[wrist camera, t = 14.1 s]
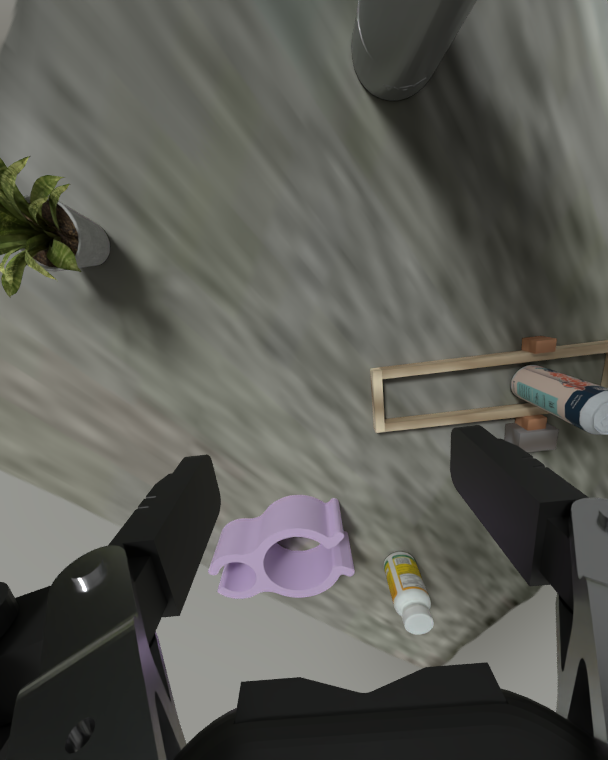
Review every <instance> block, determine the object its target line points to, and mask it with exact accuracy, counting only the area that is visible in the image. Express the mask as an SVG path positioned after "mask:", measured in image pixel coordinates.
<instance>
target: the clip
mask: <svg viewBox="0 0 608 760" xmlns="http://www.w3.org/2000/svg"><path fill="white" fill-rule="evenodd" d="M289 537H306V538H310V539H313V540H315V541H317V542H319V543H321V544H320V545H318V546H317V547H315V548H313V549H310V550H306V551H293V550H289V549H286V548H284V547H282V546H280V545H279V544H277V543H276V542H278V541H280V540H282V539H285V538H289ZM224 565H225V566H224ZM222 566H224V570H223V573H222V577H221V580H220V584H219V587H218V593H220V594H221V595H223V596H226V597H229V598H234V599H244V598H249V597H252V596H254V595H256V594H258V593H261V592H275V593H278V594H280V595H283V596H288V597H297V598H300V597H309V596H313V595H317V594H319V593H322V592H324V591H325V590H327V589H328V588H330V587H331V586H332V585H333V584H334V583H335V582H336V581H337V579H338V578H339V576H340V575H347V576H352V575H353V574H354V573H355V571H354V565H353V559H352V553H351V548H350V542H349V536H348V533H347V532H346V531H343V525H342V519H341V512H340V506H339V501H338V500H337V499H336V498H332V499H331V500H330V501H329V502H328V503H324V502H322V501H321V500H319V499H317V498H314V497H311V496H306V495H291V496H287V497H283V498H281V499H279V500H277V501H275V502H274V503H272V504H271V505H270V506H269V507H268V508H267V509H266V511H265V512H264V513H263V514H262V515H261V516H259V517H257V518H252V519H248V518H241V519H236V520H233V521H231V522H230V523H228V524H227V525H226V526H225V527H224V528H223V530H222V533H221V536H220V538H219V541H218V544H217V547H216V550H215V553H214V556H213V559H212V562H211V565H210V567H209V570H208V573H209V574H211V575H216V574H218V572H219V570H220V568H221V567H222Z"/></svg>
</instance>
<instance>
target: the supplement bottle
mask: <svg viewBox="0 0 608 760" xmlns="http://www.w3.org/2000/svg"><path fill="white" fill-rule="evenodd" d="M384 570H385V574H386V578H387V581H388V585H389V589H390V593H391V596H392V600H393V604H394V607H395V610H396V611H397V613H398V614H399V615H400V616H402V620H403V623H404V626H405V628H406V630H407V631H408V632H410V633H412V634H417V635H419V634H424V633H427V632H429V631H430V630H431V629H432V627H433V625H434V622H433V618H432V616H431V613H430V611H429V610H430V607H431V601H430V597H429V595H428V592H427V590H426V587H425V585H424V582H423V580H422V577H421V575H420V572H419V569H418V567H417V564H416V562H415V560H414V558H413V557H412V556H411V555H410V554H408V553H406V552H394V553H392V554H390V555H389V556H388V557H387V558H386V559H385V562H384Z"/></svg>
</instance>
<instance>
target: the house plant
mask: <svg viewBox="0 0 608 760" xmlns="http://www.w3.org/2000/svg"><path fill="white" fill-rule="evenodd" d="M29 157H31V156H29ZM29 157H25V158H23V159H21V160H19V161H17V162H15V163H13V164H12V165H10V166H9V167H8V168H7V167H6V165H5V164H4V162H3V161H2V159H1V158H0V255H2V254H5V253H7V254H6V255H5V256H4V258H3V261H2V263H1V264H0V271H1V272H2V273H3V275H2V278H1V280H2V285H3V288H4V290H5V291H6V293H7V295H8V296H9V297H10V296H11V295H13V294H15V293H16V292H17V291H18V289H19V287H20V284H21V280H22V276H23V272H24V268H25V266H26V265H28V266H30V267H31V268H33V269H35V270H37V271H38V272H40V273H41V274H43V275H45V276H46V277H49V278H52V279H55V278H54V277H53V276H52V275H51V274H49V273H48V272H47V271H61V270H74V271H79V270H80V269H79V268H81V267H89V266H96V265H100V264H102V263H103V262H104V261H105V260H106V259H107V258H108V256H109V252H110V242H109V239H108V236H107V234H106V233H105V231H104V230H103V229H102V228H101V227H100V226H99V225H98V224H97V223H95V222H93V221H92V220H90V219H88V218H87V217H85V216H83V215H82V214H80V213H78V212H76V211H75V210H73V209H71V208H70V207H68V206H66V205H64V204H63V203H61V202H59V201H58V200H59V197H60V195H61V193H63V192H64V191H65V190H66V189H67V188H68V186H69V184H66V185H63V186H59V187H57V188H55V186H56V184H57V182H58V181H59V180H60V179H61V178H65V177H59V176H51V175H46V176H42V177H40V178H38V179H37V180H36V181H35V183H34V185H33V187H32V191H31V195H26V196H24V197H23V195H22V194H21V193H20V191H19V190H18V188H17V186H16V184H15V180H16V176H17V174H18V173H19V172H20V171H21V170H22V169H23V168H24V166H25V164H26V162H27V160H28V158H29ZM54 188H55V189H54ZM49 194H50V195H49ZM48 195H49V196H48ZM16 251H19V252H20V253H19V254H17V255H16V256H14V257H13V258H12V259H11V260H10V261H9V263H8V264H7V266H6V269H4V264H5V262H6V261H7V259H8V257H9V256H10V254H12V253H14V252H16ZM79 272H81V270H80V271H79ZM55 280H56V279H55ZM10 298H11V297H10Z"/></svg>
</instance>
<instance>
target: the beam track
mask: <svg viewBox="0 0 608 760" xmlns="http://www.w3.org/2000/svg"><path fill="white" fill-rule="evenodd" d="M556 342H557V339H555V338H550V337H545V336H535V337H527V338H522V349H521V351H512V352H504V353H496V354H487V355H479V356H471V357H462V358H454V359H446V360H438V361H429V362H421V363H413V364H404V365H396V366H388V367H379V368H371V369H370V374H371V390H372V406H373V422H374V429H375V431H376V433H379V432H388V431H397V430H406V429H415V428H424V427H433V426H442V425H451V424H460V423H469V422H478V421H487V420H496V419H505V418H514V417H515V423H508V424H506V426H505V438H504V440H505V441H507V442H510V443H512V444H515V445H517V446H519V447H520V448H522V449H523V450H525V451H526V452H535V451H544V450H554V449H556V446H557V439H558V431H559V429H557V428H556V427H554V426H552V425H550V424H548V423H547V417H545V416H543V415H541V414H550V413H548V412H546V411H544V410H542V409H540V408H538V407H536V406H535V405H533V404H531V403H523V404H514V405H505V406H497V407H488V408H479V409H470V410H461V411H452V412H444V413H435V414H426V415H417V416H408V417H399V418H390V419H384V403H383V384H382V379H388V378H397V377H405V376H413V375H422V374H430V373H439V372H447V371H456V370H464V369H472V368H481V367H489V366H498V365H506V364H515V363H523V362H531V361H540V360H548V359H557V358H565V357H574V356H582V355H590V354H599V353H606V359H605V365H604V370H603V376H602V382H601V386H602V387H605V388H608V340H604V341H595V342H587V343H579V344H571V345H562V346H556Z"/></svg>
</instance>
